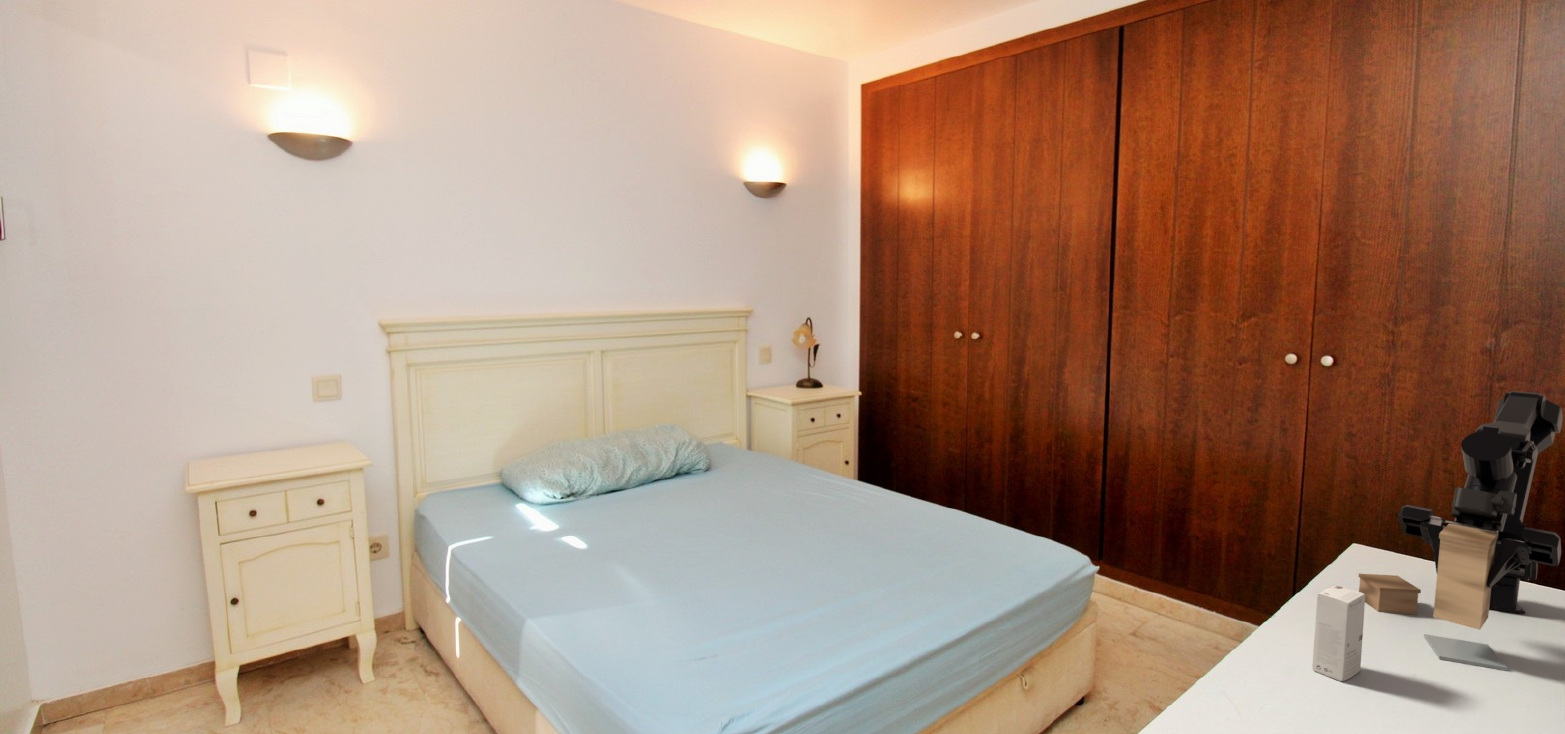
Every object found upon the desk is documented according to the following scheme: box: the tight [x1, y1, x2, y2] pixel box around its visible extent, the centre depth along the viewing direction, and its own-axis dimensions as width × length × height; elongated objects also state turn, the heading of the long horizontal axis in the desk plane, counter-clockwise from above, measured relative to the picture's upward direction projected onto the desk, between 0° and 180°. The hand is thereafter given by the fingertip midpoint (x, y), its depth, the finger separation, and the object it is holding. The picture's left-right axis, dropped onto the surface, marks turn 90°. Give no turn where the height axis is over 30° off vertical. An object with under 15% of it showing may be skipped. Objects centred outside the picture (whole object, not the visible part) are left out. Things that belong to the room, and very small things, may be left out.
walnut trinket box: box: [1358, 573, 1422, 615], centre depth 137 cm, size 6×6×5 cm
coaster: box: [1423, 633, 1508, 672], centre depth 120 cm, size 8×8×1 cm
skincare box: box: [1311, 585, 1366, 682], centre depth 114 cm, size 6×4×12 cm
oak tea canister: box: [1432, 524, 1498, 630], centre depth 119 cm, size 6×6×14 cm
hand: (1462, 580), depth 118 cm, fingers closed on oak tea canister, 5 cm apart
